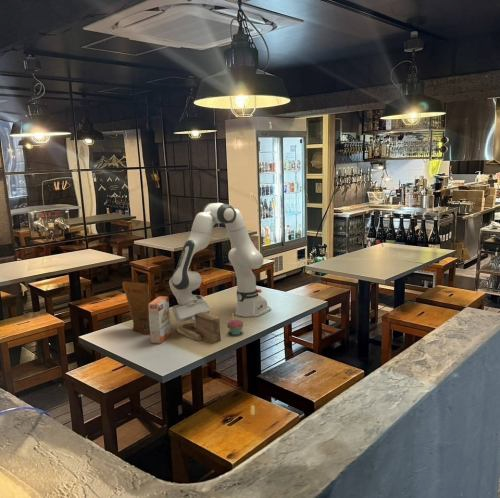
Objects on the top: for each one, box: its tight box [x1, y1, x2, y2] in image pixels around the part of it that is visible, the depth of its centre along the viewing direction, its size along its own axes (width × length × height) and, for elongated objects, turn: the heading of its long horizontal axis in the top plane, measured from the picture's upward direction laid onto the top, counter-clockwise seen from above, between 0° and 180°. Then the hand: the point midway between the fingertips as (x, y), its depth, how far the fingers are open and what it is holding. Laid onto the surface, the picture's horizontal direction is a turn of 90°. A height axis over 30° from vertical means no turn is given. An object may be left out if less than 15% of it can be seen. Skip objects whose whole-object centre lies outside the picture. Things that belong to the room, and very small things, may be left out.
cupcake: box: [226, 312, 244, 336], centre depth 239 cm, size 9×8×12 cm
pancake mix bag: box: [121, 281, 151, 335], centre depth 244 cm, size 7×19×28 cm, turn 52°
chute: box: [175, 321, 202, 342], centre depth 242 cm, size 12×20×2 cm, turn 43°
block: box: [194, 312, 222, 344], centre depth 233 cm, size 5×14×12 cm, turn 42°
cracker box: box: [148, 295, 171, 345], centre depth 234 cm, size 14×6×21 cm, turn 168°
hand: (199, 324), depth 238 cm, fingers closed, pressing on block
